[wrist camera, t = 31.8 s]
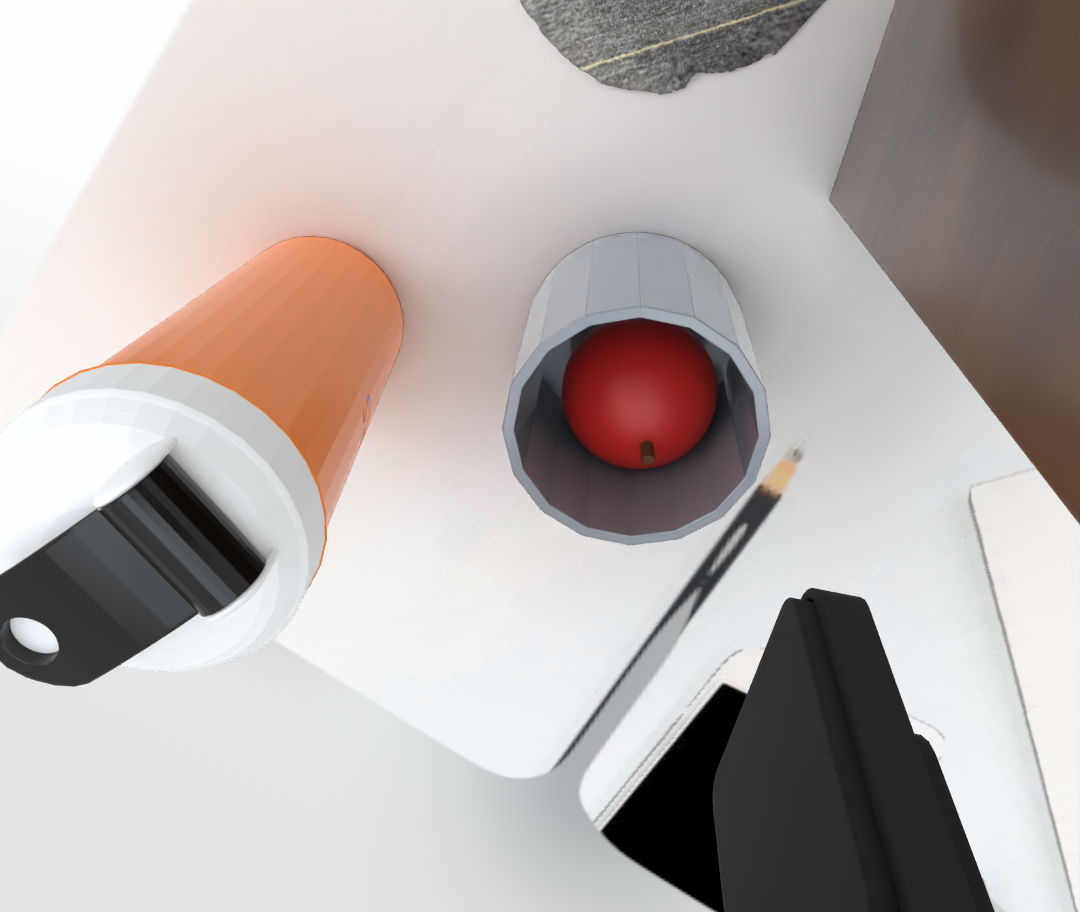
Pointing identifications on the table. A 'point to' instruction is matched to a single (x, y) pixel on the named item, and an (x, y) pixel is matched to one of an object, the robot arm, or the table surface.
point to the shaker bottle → (193, 471)
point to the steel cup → (538, 414)
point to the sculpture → (666, 36)
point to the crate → (983, 203)
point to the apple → (639, 392)
